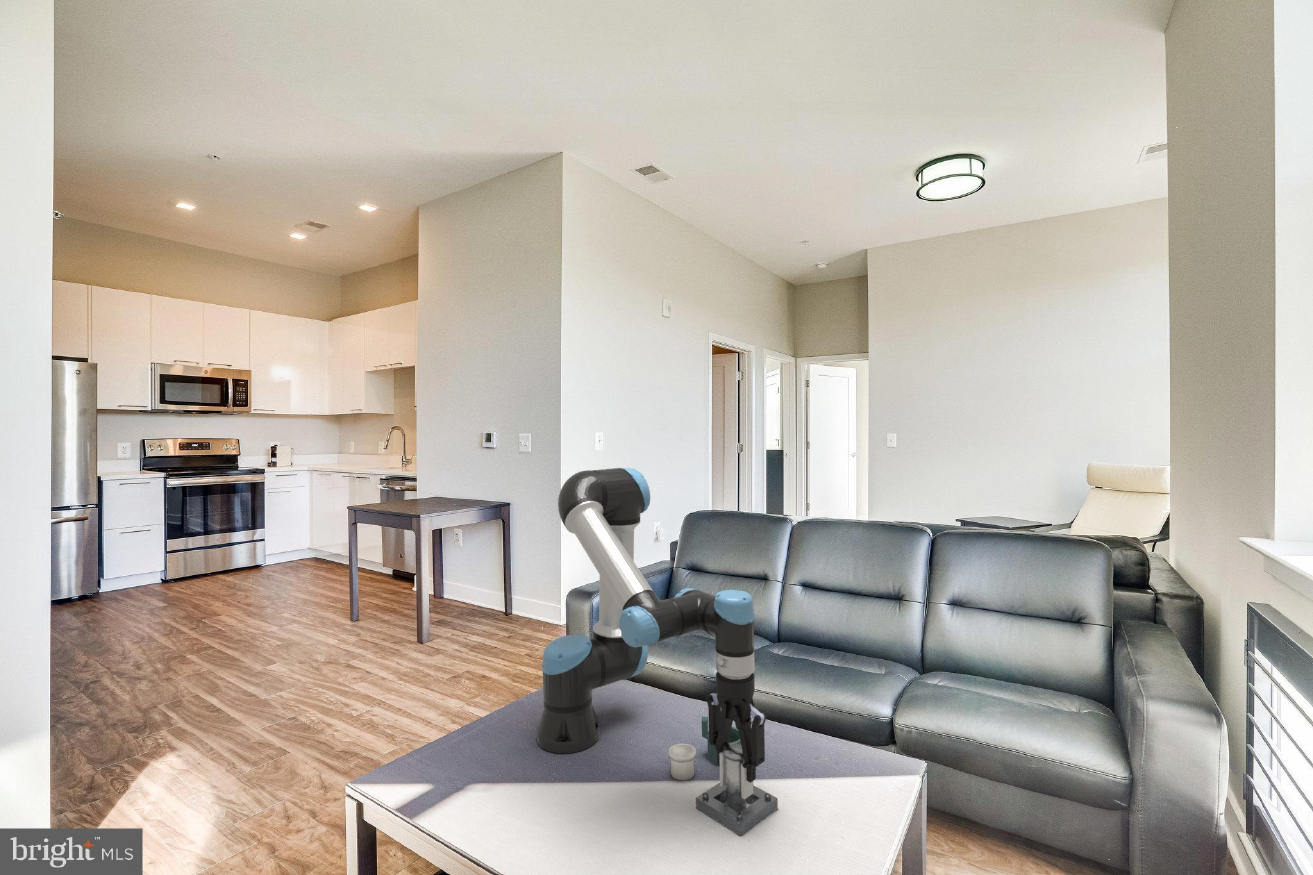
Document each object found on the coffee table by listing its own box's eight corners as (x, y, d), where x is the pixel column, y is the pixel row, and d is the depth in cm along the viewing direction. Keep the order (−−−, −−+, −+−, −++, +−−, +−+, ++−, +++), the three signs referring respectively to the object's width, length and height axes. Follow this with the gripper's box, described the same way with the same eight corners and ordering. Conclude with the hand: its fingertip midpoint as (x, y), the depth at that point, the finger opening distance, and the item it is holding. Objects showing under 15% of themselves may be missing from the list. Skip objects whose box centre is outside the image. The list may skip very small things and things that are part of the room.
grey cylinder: (719, 809, 120) (718, 749, 120) (734, 799, 124) (734, 740, 123) (737, 820, 117) (737, 758, 117) (752, 809, 120) (752, 749, 120)
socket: (696, 808, 121) (695, 794, 121) (733, 784, 128) (733, 771, 128) (740, 836, 112) (740, 821, 112) (777, 809, 120) (777, 795, 120)
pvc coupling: (663, 773, 133) (663, 750, 133) (682, 762, 137) (682, 740, 137) (682, 784, 129) (682, 761, 128) (701, 773, 133) (701, 750, 132)
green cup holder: (753, 759, 138) (752, 720, 138) (720, 771, 133) (719, 731, 133) (729, 742, 145) (728, 704, 145) (696, 753, 141) (696, 714, 141)
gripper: (688, 664, 124) (690, 778, 124) (759, 692, 110) (761, 819, 111) (713, 654, 129) (715, 763, 129) (784, 680, 116) (785, 801, 116)
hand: (736, 789), depth 120 cm, fingers open, 5 cm apart
